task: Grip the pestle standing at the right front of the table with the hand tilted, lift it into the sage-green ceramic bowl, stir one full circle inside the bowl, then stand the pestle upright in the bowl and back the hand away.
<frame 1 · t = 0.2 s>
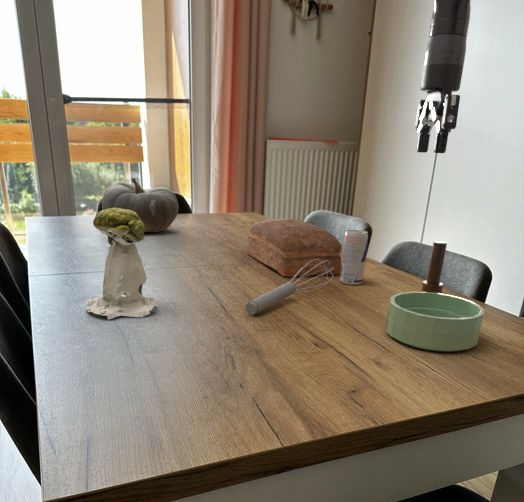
hand: (430, 152, 107), 30 cm above the table, tool pointing down, fingers open, 8 cm apart
energy drink: (351, 283, 122), on the table
kitchen whisk: (292, 299, 108), on the table
bread: (290, 264, 138), on the table
pestle: (430, 295, 115), on the table
bowl: (430, 337, 90), on the table
gourd: (142, 230, 175), on the table
mushroom: (122, 310, 96), on the table
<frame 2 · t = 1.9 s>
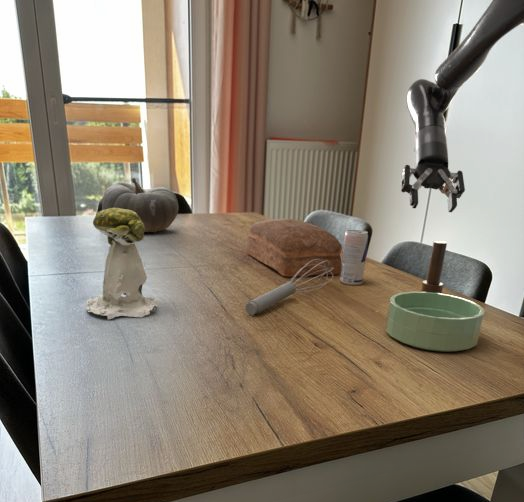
hand: (433, 208, 118), 18 cm above the table, tool tilted 40°, fingers open, 8 cm apart
nothing on the table moved.
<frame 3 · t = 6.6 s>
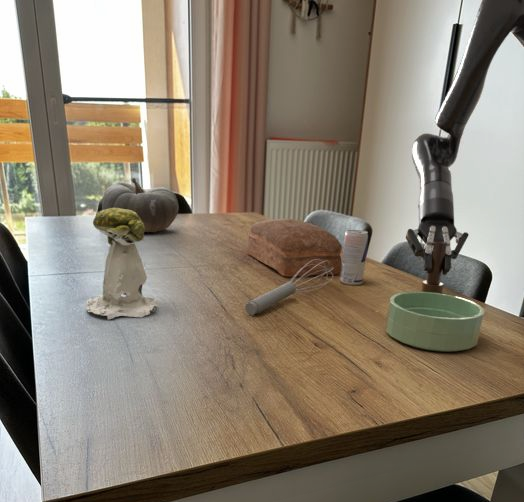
hand: (437, 271, 110), 6 cm above the table, tool tilted 45°, fingers closed on pestle, 3 cm apart
pestle: (430, 295, 115), on the table, touching gripper
everything else where it was.
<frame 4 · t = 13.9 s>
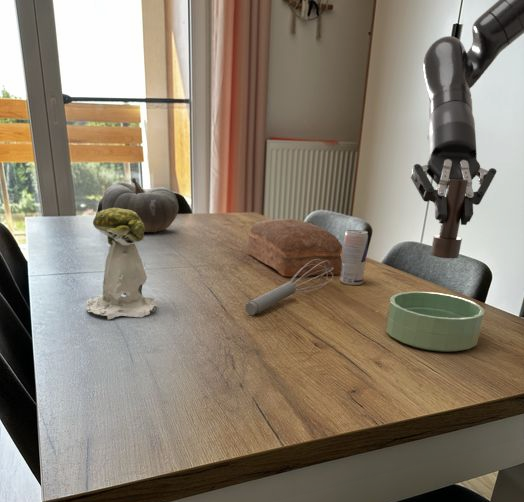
hand: (454, 220, 81), 20 cm above the table, tool tilted 45°, fingers closed on pestle, 3 cm apart
pestle: (444, 255, 85), point 14 cm above the table, touching gripper
everything else where it was.
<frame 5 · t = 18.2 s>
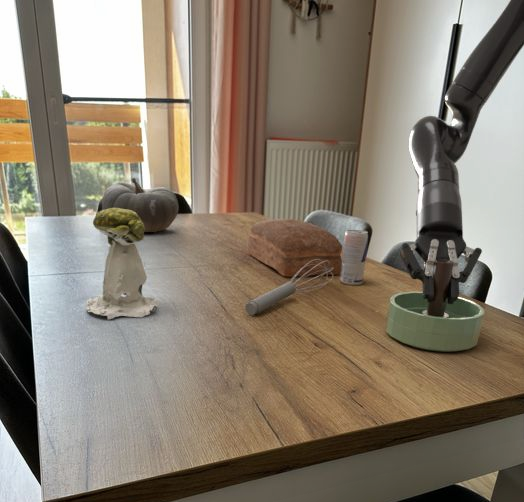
hand: (441, 300, 84), 8 cm above the table, tool tilted 45°, fingers closed on pestle, 3 cm apart
pestle: (432, 330, 88), point 2 cm above the table, touching gripper
everything else where it was.
when the fingers open (7 cm above the table, at t = 21.4 s): pestle stays where it is, resting on bowl.
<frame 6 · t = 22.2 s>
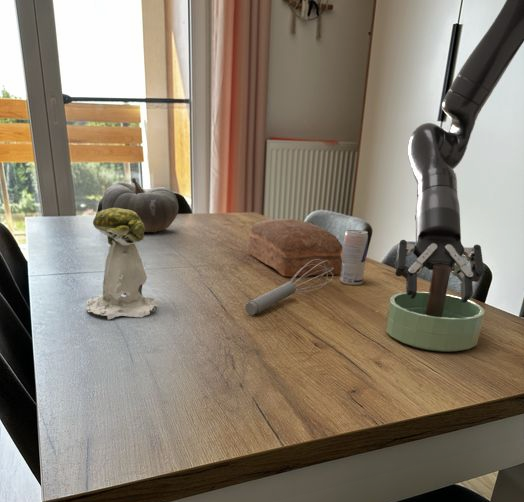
hand: (439, 298, 86), 7 cm above the table, tool tilted 45°, fingers open, 8 cm apart
pestle: (430, 333, 90), point 1 cm above the table, touching bowl
everything else where it was.
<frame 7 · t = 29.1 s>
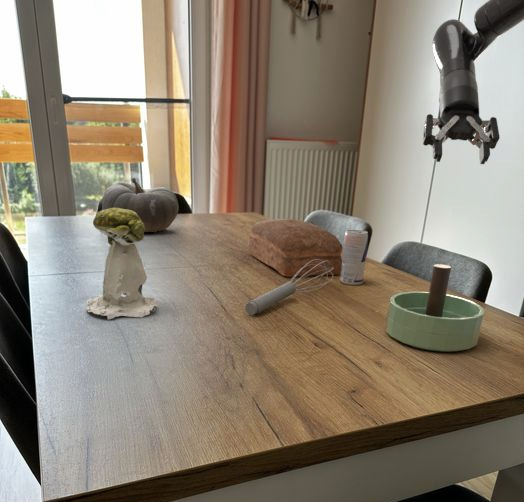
hand: (461, 160, 101), 29 cm above the table, tool tilted 45°, fingers open, 8 cm apart
nothing on the table moved.
at the end: pestle inside the target area in the bowl (0.1 cm from its centre), point 0.6 cm above the bowl's base; pestle tilted 0°; the gripper is holding nothing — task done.
